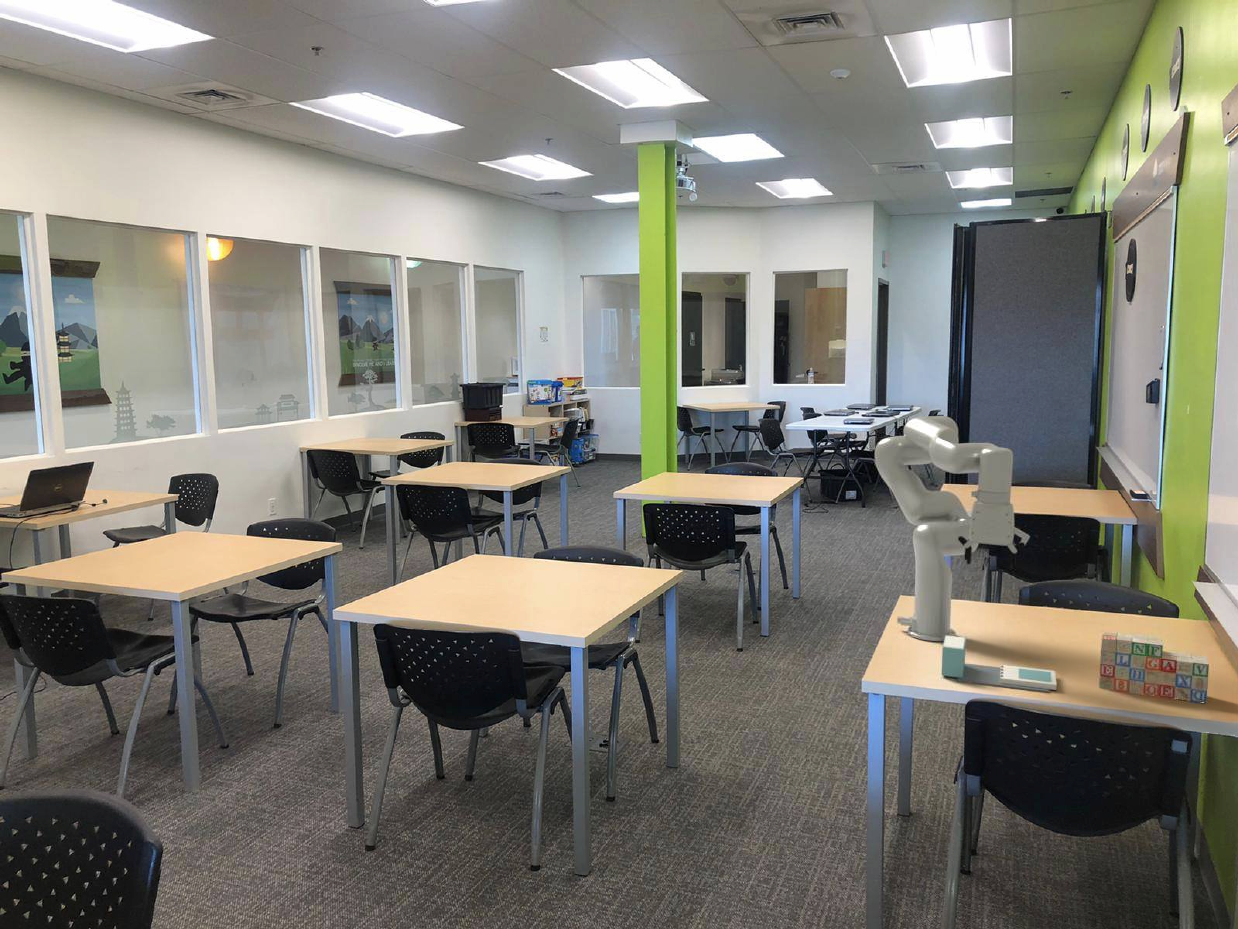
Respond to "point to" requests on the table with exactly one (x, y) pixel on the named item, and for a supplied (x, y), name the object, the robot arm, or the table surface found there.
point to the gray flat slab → (1010, 677)
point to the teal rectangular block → (953, 656)
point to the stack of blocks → (1151, 668)
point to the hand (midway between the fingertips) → (989, 565)
